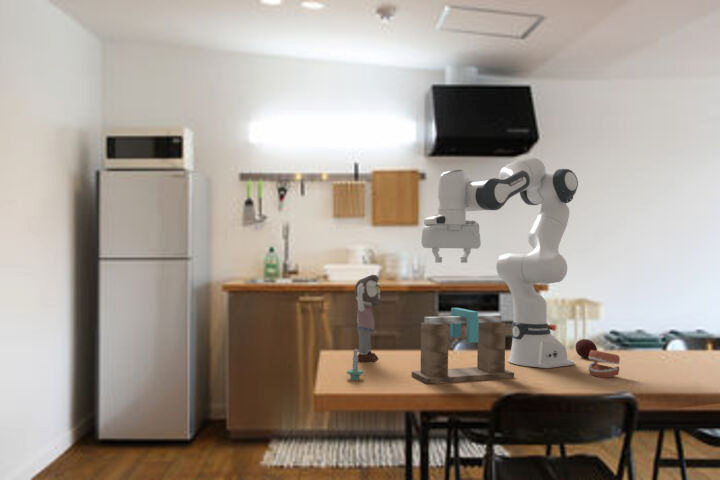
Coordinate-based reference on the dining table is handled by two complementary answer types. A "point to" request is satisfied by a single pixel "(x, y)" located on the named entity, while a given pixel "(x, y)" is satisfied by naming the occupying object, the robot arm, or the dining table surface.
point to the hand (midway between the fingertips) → (451, 262)
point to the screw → (355, 367)
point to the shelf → (437, 351)
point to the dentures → (601, 369)
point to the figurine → (366, 315)
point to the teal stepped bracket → (471, 324)
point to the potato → (585, 347)
